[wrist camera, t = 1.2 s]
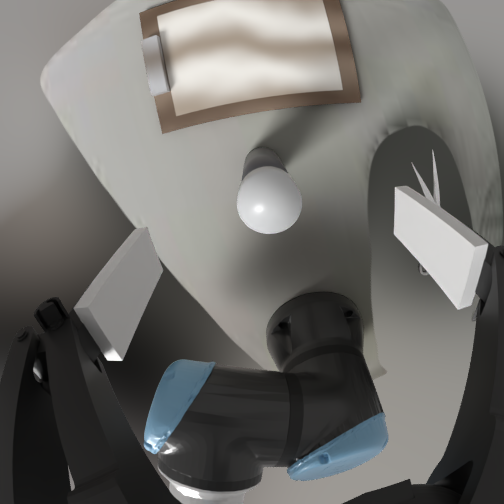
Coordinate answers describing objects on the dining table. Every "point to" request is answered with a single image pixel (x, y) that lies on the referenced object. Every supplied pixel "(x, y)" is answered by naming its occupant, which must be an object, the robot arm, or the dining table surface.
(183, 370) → the robot arm
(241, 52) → the clipboard
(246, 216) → the marker
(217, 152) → the dining table surface
